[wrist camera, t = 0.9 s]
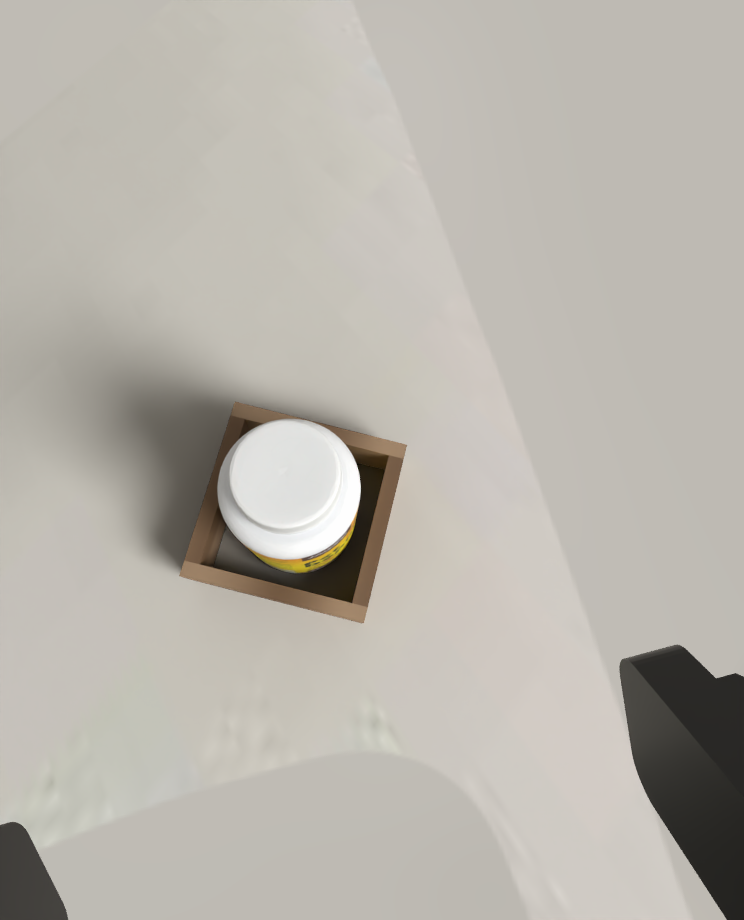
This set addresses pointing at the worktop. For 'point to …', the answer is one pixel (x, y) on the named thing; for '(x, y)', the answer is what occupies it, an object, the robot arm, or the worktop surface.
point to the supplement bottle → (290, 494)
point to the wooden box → (202, 570)
